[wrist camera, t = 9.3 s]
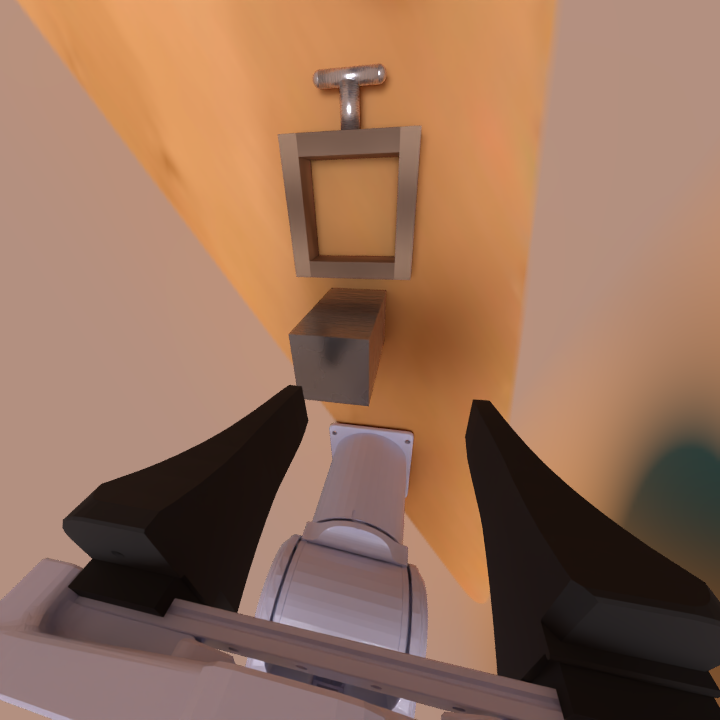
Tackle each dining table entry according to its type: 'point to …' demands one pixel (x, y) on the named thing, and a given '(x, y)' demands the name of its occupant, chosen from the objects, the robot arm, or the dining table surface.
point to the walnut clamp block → (349, 146)
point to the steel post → (340, 346)
